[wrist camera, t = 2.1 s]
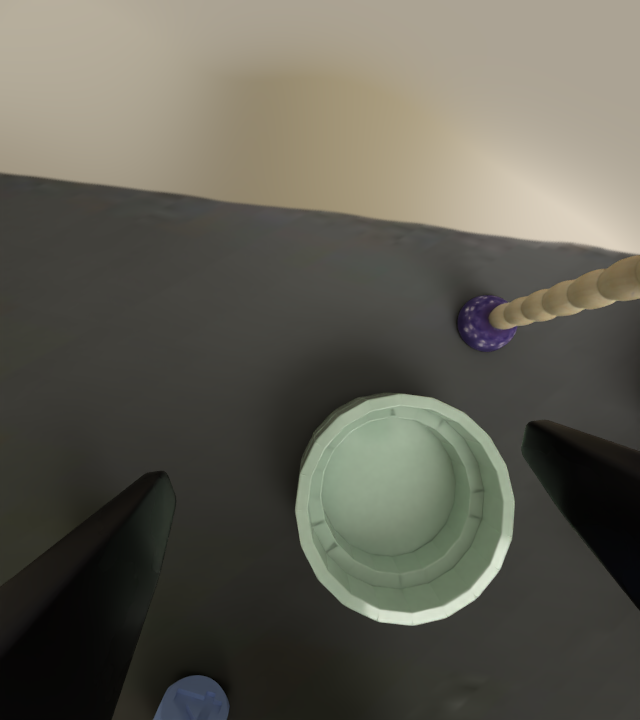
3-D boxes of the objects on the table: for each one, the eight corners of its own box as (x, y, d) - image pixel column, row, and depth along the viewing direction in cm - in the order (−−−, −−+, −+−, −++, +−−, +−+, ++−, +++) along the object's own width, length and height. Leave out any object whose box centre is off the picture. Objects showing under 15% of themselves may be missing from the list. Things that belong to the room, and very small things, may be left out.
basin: (506, 476, 22) (557, 499, 17) (391, 613, 20) (414, 676, 16) (380, 358, 22) (399, 350, 18) (262, 485, 21) (249, 512, 16)
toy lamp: (525, 342, 23) (1128, 216, 6) (473, 370, 22) (959, 321, 6) (493, 287, 23) (982, 22, 6) (441, 314, 22) (815, 109, 6)
